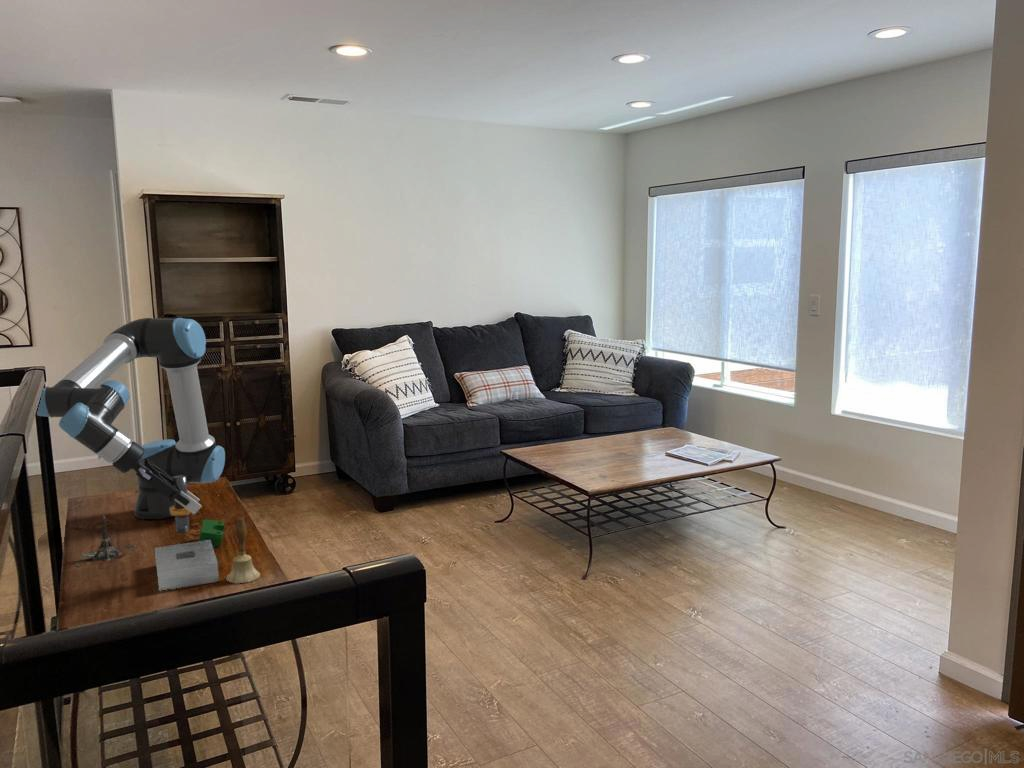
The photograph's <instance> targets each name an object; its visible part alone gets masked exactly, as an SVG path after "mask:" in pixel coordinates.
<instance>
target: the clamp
mask: <svg viewBox="0 0 1024 768" xmlns="http://www.w3.org/2000/svg"><path fill="white" fill-rule="evenodd" d="M224 529H225V522H223V521H221V520H212V519H211V520H210V519H204V518H203V520H202V525H201V529H200V534H199V538H198V541H204V540H211V543H212V546H213V547H219V548H220V547H221V546H222V541H223V537H224Z"/></svg>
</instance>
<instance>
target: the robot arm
mask: <svg viewBox="0 0 1024 768" xmlns="http://www.w3.org/2000/svg"><path fill="white" fill-rule="evenodd" d="M206 345H207V340H206V334H205V332H204V329H203V327H202V326H201V324H200V323H199V322H197V321H196V320H194V319H193V318H183V317H172V318H171V317H170V318H169V317H159V318H158V317H157V318H156V317H153V318H151V317H144V318H143V317H142V318H137V319H135V320H132V321H129V322H127V323H126V324H123V325H121V326H119V327H118V328H116V329H115V330H114V331H112V332H111V333H110V334H108V335H107V336H106V337H105V338H104V340H103V342H102V345H101V346H99V348H97V349H96V350H95V351H93V353H91V354H90V355H88V356H87V358H85V359H84V360H83V361H82V362H81V363H79V364H78V365H77V366H76V367H74V368H73V370H71V371H70V372H68V373H67V374H66V375H65V376H64V377H62V378H61V380H59V381H58V382H57V383H56V384H54V385H53V386H50V387H49V386H44V387H45V388H43V392H42V395H41V400H40V404H39V407H38V411H37V415H36V416H38V417H46V418H47V417H48V418H60V420H59V422H58V426H59V428H60V429H61V430H62V431H63V432H65V433H66V434H67V435H68V436H69V437H70V438H72V439H73V440H76V441H77V442H78V443H80V444H82V445H83V446H84V447H86V448H87V449H89V450H90V451H91V452H93V453H95V454H96V455H98V456H97V458H98V459H99V460H102V459H103V460H104V461H106V462H107V463H109V464H111V463H112V467H114V468H115V469H117V470H118V471H119V472H121V473H123V474H126V473H128V472H129V471H130V470H133V471H134V472H136V473H135V474H136V476H137V483H138V485H137V486H138V494H137V498H136V500H135V505H134V507H133V508H134V509H133V510H134V511H133V513H134V517H135V516H136V517H138V518H137V519H139V518H141V519H140V520H144V519H157V520H164V519H163V518H165V519H168V518H167V517H170V518H173V516H172V515H170V507H171V506H173V505H174V500H175V501H176V502H177V503H179V504H180V505H182V506H183V507H184V508H186V509H187V510H189V511H190V512H191V514H192V515H196V514H197V513H198V511H200V509H201V508H202V507H203V506H202V504H200V503H199V502H200V501H201V499H200V498H198V497H197V496H196V495H194V494H193V493H192V492H191V491H189V490H188V489H187V495H186V494H185V493H184V492H182V491H181V492H180V490H178V489H176V488H175V487H174V486H173V477H174V476H178V475H185V476H186V480H187V483H201V484H204V483H214V482H216V481H217V480H219V479H220V478H221V475H222V473H223V471H224V467H225V462H226V451H225V448H224V447H222V446H221V445H217V444H216V439H215V437H214V436H212V435H211V434H209V429H208V423H207V418H206V411H205V406H204V399H203V396H202V395H203V394H202V389H201V385H200V384H201V383H200V378H199V372H198V365H199V363H200V362H201V360H202V357H203V356H204V354H205V353H206ZM140 358H158V363H159V366H160V368H161V369H164V370H165V371H166V376H167V381H168V386H169V393H170V396H171V403H172V407H173V412H174V417H175V423H176V427H177V432H178V439H179V440H178V441H175V439H159V440H154V441H151V442H147V443H144V444H142V445H139V444H138V443H137V442H136V441H132V438H131V437H130V436H128V435H126V434H125V433H123V432H122V431H121V430H119V428H117V427H115V426H114V424H112V423H114V421H115V420H116V419H117V417H118V416H119V414H121V413H122V411H123V410H124V408H125V407H126V405H127V403H128V401H129V399H130V396H131V394H130V391H129V389H128V387H127V386H126V385H125V384H124V383H122V382H120V381H118V380H115V379H114V380H113V379H110V380H109V378H110V377H111V376H112V375H114V373H115V372H117V371H118V370H119V369H120V368H121V367H122V366H124V364H125V365H126V364H129V363H132V362H133V361H134V360H135V359H140ZM136 517H135V518H136Z"/></svg>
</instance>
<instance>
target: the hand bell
mask: <svg viewBox="0 0 1024 768" xmlns="http://www.w3.org/2000/svg"><path fill="white" fill-rule="evenodd" d="M235 535H236V538H237V541H238V553H237V556H235V557H234V558H233V559H232V568H231V571H230V573H228V574H227V577H226V581H227V582H228V581H229V582H228V583H230V582H231V584H235V585H237V584H240V583H242V584H248V583H251V581H252V582H254V581H256V580H259V578H260V577H261V573H260V572H259V571H258V570H257V569H256V568H255V566H254V564H253V561H252V557H251V555H249V554H246V544H245V543H246V538H247V525H246V522H245V520H244V517H239V518H238V519H237V522H236V527H235ZM247 582H248V583H247Z"/></svg>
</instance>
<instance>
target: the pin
mask: <svg viewBox="0 0 1024 768" xmlns="http://www.w3.org/2000/svg"><path fill="white" fill-rule="evenodd" d="M187 483H188V482H187V480H186V476H185V475H178V476H174V477H173V486H174V487H175V488H176V489H178V490H180V492H181V491H182V492H184V493H185V494H186V495H187V490H188V486H187V485H188V484H187ZM191 514H192V513H191V512H190V511H189V510H187V509H186V508H184V507H183V506H182V505H180V504H179V503H177V502H176V501H175V500H174V505H173V506H171V507H170V515H172V516H174V517H175V518H174V519H175V531H176V532H177V533H186V532H189V531H190V517H189V516H190V515H191Z"/></svg>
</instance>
